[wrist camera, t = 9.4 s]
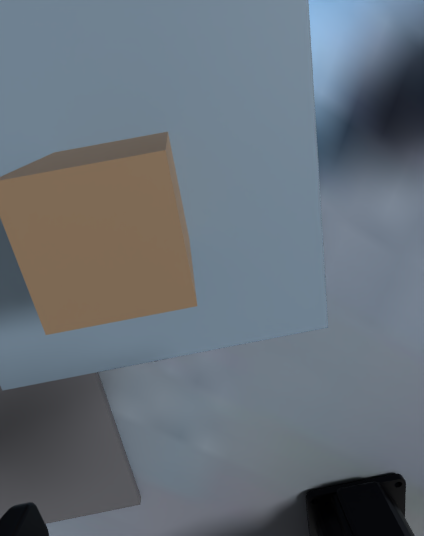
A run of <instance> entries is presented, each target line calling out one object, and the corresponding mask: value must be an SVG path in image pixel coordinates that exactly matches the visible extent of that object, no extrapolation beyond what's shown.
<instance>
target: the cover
mask: <svg viewBox="0 0 424 536" xmlns="http://www.w3.org/2000/svg"><path fill="white" fill-rule="evenodd" d="M323 328H328V316H327V300H326V283H325V267H324V250H323V234H322V217H321V201H320V185H319V168H318V152H317V135H316V119H315V102H314V86H313V70H312V53H311V37H310V20H309V4H308V0H0V386H1V388H2V391H3V390H8V389H13V388H18V387H23V386H28V385H34V384H39V383H44V382H49V381H54V380H59V379H65V378H70V377H75V376H80V375H85V374H91V373H96V372H101V371H106V370H111V369H116V368H122V367H127V366H132V365H137V364H142V363H147V362H153V361H158V360H163V359H168V358H173V357H179V356H184V355H189V354H194V353H199V352H204V351H210V350H215V349H220V348H225V347H230V346H235V345H241V344H246V343H251V342H256V341H261V340H267V339H272V338H277V337H282V336H287V335H292V334H298V333H303V332H308V331H313V330H318V329H323Z"/></svg>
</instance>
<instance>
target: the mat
mask: <svg viewBox="0 0 424 536" xmlns="http://www.w3.org/2000/svg"><path fill="white" fill-rule="evenodd" d="M28 502H33V503H34V504H36V506H37V508H38V510H39V512H40V514H41V516H42V518H43V520H44V522H45V524H46V523H51V522H56V521H61V520H66V519H71V518H76V517H81V516H86V515H91V514H95V513H100V512H105V511H110V510H115V509H120V508H125V507H130V506H135V505H140V503H141V496H140V493H139V490H138V487H137V484H136V481H135V478H134V476H133V473H132V470H131V467H130V464H129V461H128V458H127V455H126V452H125V449H124V447H123V444H122V441H121V438H120V435H119V432H118V429H117V426H116V423H115V420H114V418H113V415H112V412H111V409H110V406H109V403H108V400H107V397H106V394H105V392H104V389H103V386H102V383H101V380H100V377H99V374H98V372H96V373H91V374H85V375H80V376H75V377H70V378H65V379H59V380H54V381H49V382H44V383H39V384H34V385H28V386H23V387H18V388H13V389H8V390H3V391H2V388H1V386H0V518H1V517H2V516H3V515H4V514H5V513H6V512H7V510H8V509H10V508H11V507H12V506H14V505H18V504H23V503H28Z"/></svg>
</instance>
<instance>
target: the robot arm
mask: <svg viewBox="0 0 424 536" xmlns="http://www.w3.org/2000/svg"><path fill="white" fill-rule="evenodd" d="M405 492H406V482H405V480H404V478H403V477H402V475H400V474H392V475H388V476H383V477H378V478H373V479H368V480H363V481H358V482H353V483H348V484H343V485H338V486H333V487H328V488H323V489H318V490H313V491H310V492H308V493H307V494H306V497H305V498H306V507H307V516H308V525H309V534H310V536H415V535H414V534H413V532H412V530H411V528H410V526H409V525H408V523H407V521H406V519H405ZM0 536H49V533H48V529H47V526H46V524H45V522H44V520H43V518H42V516H41V514H40V512H39V510H38V508H37V506H36V504H34V503H33V502H28V503H23V504H18V505H14V506H12V507H11V508H10V509H8V510H7V512H6V513H5V514H4V515H3V516H2V517H1V518H0Z"/></svg>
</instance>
